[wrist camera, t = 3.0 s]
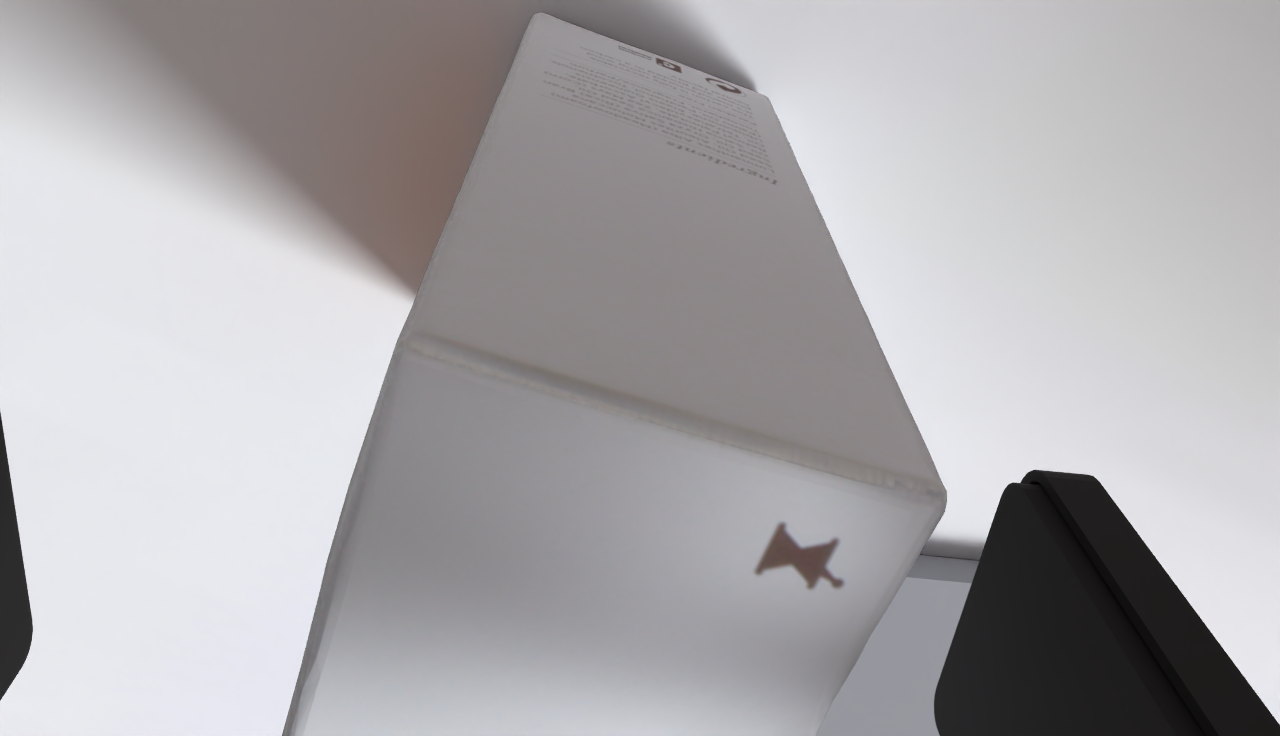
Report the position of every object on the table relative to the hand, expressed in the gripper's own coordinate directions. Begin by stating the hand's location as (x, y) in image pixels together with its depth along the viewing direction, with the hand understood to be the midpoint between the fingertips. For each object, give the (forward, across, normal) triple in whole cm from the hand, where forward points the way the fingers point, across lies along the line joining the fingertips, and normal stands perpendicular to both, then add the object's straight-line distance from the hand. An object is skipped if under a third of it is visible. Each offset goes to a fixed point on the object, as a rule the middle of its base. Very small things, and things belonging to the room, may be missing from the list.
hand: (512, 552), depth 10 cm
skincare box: (+10, -1, 0) cm, 10 cm away
